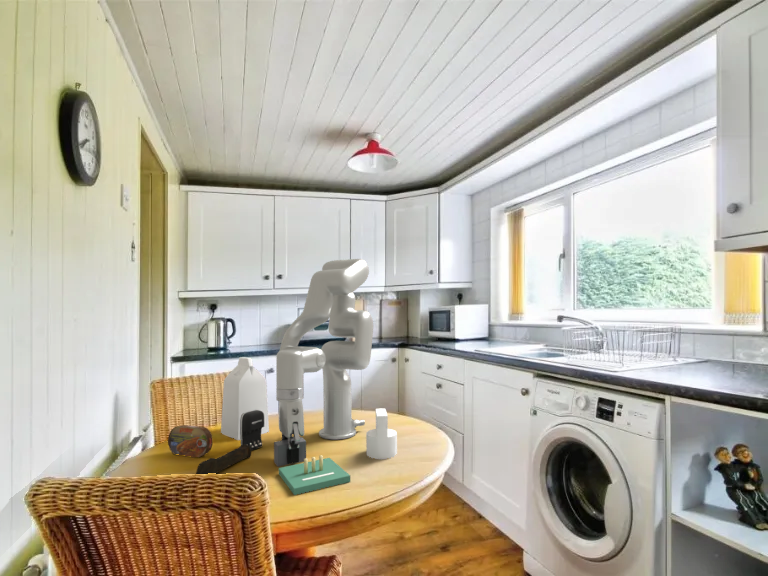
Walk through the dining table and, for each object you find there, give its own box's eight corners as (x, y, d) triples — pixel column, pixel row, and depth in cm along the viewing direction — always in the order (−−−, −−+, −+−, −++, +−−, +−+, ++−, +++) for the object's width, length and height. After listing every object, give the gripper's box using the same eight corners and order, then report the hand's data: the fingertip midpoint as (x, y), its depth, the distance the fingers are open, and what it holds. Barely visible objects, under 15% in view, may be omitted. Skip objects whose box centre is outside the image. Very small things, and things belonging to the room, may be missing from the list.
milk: (269, 432, 140) (269, 357, 141) (238, 440, 131) (238, 360, 132) (250, 425, 147) (251, 355, 149) (220, 433, 139) (221, 358, 140)
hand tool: (240, 457, 116) (240, 440, 117) (251, 458, 115) (251, 442, 115) (187, 483, 99) (187, 464, 99) (199, 485, 97) (199, 466, 98)
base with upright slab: (398, 458, 113) (398, 415, 113) (366, 460, 112) (366, 416, 113) (395, 447, 122) (395, 408, 122) (366, 449, 121) (365, 408, 122)
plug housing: (301, 456, 115) (301, 437, 116) (306, 460, 112) (306, 440, 112) (273, 461, 111) (274, 441, 112) (277, 466, 108) (277, 446, 108)
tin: (166, 453, 119) (167, 425, 120) (175, 450, 122) (176, 422, 123) (206, 459, 114) (206, 429, 115) (214, 455, 117) (214, 426, 118)
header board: (329, 463, 110) (329, 444, 110) (350, 481, 98) (350, 460, 98) (278, 473, 103) (278, 454, 103) (294, 495, 91) (294, 472, 91)
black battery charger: (247, 453, 118) (247, 414, 119) (239, 451, 120) (239, 413, 121) (266, 447, 124) (266, 409, 125) (258, 444, 126) (258, 408, 127)
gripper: (312, 397, 107) (312, 467, 106) (294, 387, 122) (294, 448, 121) (285, 401, 103) (285, 472, 102) (269, 390, 118) (269, 452, 117)
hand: (290, 458), depth 112 cm, fingers open, 4 cm apart
